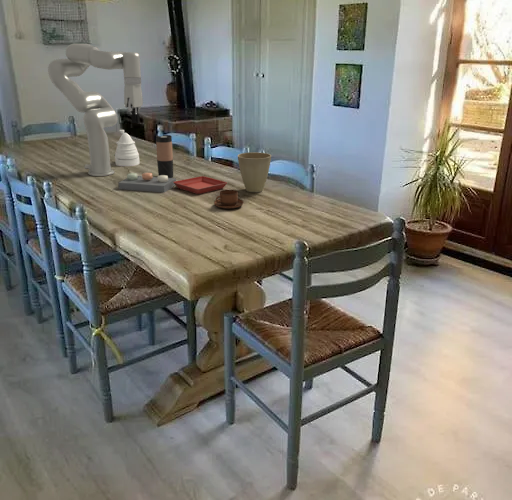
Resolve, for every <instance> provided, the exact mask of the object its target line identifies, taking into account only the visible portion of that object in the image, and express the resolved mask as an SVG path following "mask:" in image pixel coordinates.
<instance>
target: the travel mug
mask: <svg viewBox="0 0 512 500" xmlns="http://www.w3.org/2000/svg"><path fill="white" fill-rule="evenodd" d="M172 139H173V137H172V135H170V134H163V135H161V136H159V135H156V136H155V146H156V147H155V148H156V163H157V171H158V172H157V173H158V175H157V176H160V175H166V176H168V178H174V154H173V140H172Z"/></svg>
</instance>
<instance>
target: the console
mask: <svg viewBox="0 0 512 500" xmlns="http://www.w3.org/2000/svg"><path fill="white" fill-rule="evenodd" d="M137 177H138V179H137V180H127V177H125V179H122V180H121V181H119V182H118V190H127V191H128V190H129V191H138V192H139V191H140V192H151V191H152V192H153V193H155V192H156V193H166V192H167V191H169V190H171V189H172V188H174V187H175V186H176V185H175V184H174V183H173V182H175V181H177V178H174V177H172V178H168V182H158V176H153V179H150V180H144V179H142V175H137ZM173 186H174V187H173ZM170 188H171V189H170ZM152 192H151V193H152Z"/></svg>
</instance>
